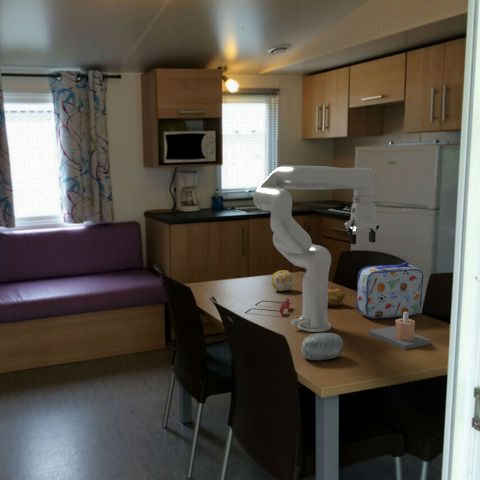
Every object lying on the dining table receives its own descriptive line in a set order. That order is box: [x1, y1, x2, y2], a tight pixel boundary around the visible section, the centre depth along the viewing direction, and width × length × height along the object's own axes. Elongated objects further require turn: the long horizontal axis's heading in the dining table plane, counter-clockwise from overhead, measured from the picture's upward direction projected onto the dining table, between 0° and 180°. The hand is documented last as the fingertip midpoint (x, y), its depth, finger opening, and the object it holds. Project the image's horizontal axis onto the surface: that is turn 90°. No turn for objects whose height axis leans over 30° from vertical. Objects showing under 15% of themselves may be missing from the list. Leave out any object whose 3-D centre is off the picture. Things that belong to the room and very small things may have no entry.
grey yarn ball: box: [301, 332, 344, 361], centre depth 186 cm, size 14×10×10 cm
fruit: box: [271, 269, 295, 292], centre depth 274 cm, size 10×11×10 cm
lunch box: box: [355, 262, 425, 319], centre depth 232 cm, size 28×10×22 cm, turn 106°
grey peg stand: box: [368, 312, 431, 350], centre depth 203 cm, size 12×18×11 cm, turn 28°
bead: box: [394, 317, 416, 341], centre depth 201 cm, size 6×6×6 cm
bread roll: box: [328, 288, 346, 308], centre depth 249 cm, size 13×10×8 cm
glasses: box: [244, 298, 292, 316], centre depth 242 cm, size 14×16×5 cm
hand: (362, 243), depth 227 cm, fingers open, 9 cm apart
